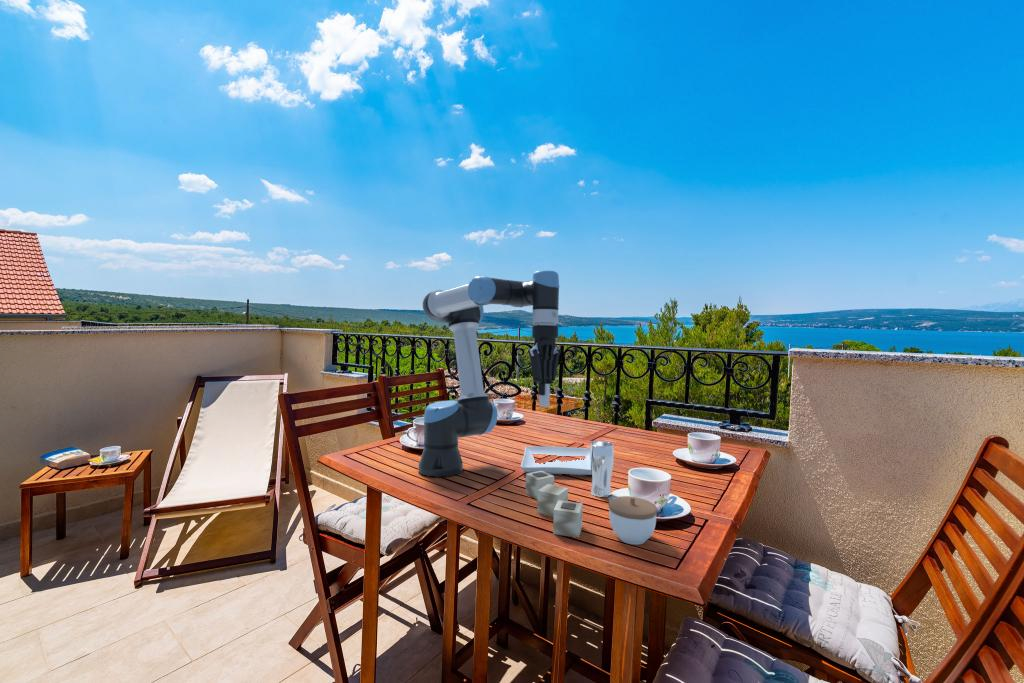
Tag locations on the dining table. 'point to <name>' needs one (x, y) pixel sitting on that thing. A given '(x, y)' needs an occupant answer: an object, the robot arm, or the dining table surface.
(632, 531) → the lidded jar
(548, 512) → the plain block
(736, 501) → the dining table surface
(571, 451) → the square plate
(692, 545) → the dining table surface
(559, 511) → the marked block
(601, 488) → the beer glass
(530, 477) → the marked block
